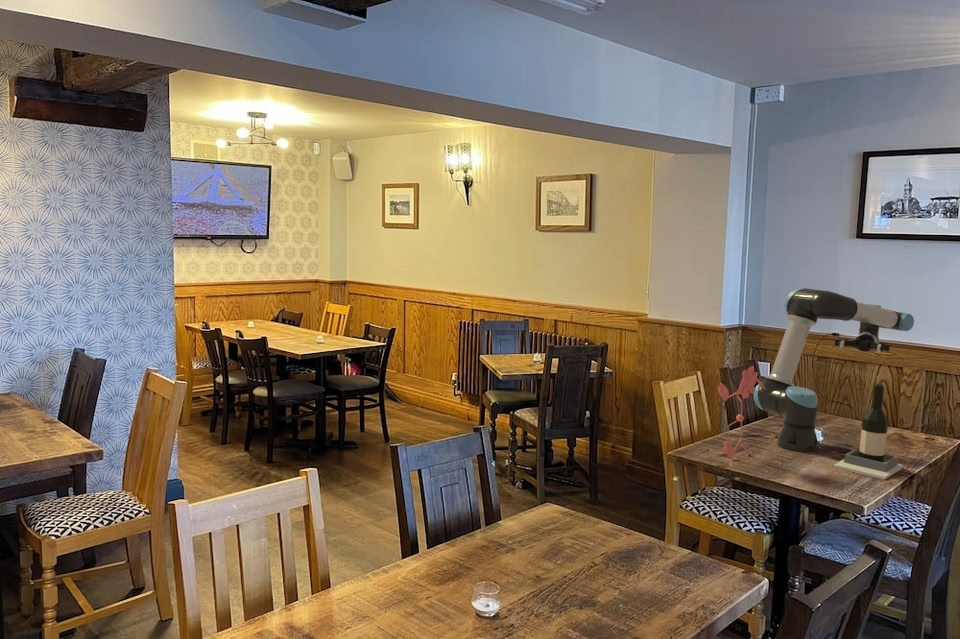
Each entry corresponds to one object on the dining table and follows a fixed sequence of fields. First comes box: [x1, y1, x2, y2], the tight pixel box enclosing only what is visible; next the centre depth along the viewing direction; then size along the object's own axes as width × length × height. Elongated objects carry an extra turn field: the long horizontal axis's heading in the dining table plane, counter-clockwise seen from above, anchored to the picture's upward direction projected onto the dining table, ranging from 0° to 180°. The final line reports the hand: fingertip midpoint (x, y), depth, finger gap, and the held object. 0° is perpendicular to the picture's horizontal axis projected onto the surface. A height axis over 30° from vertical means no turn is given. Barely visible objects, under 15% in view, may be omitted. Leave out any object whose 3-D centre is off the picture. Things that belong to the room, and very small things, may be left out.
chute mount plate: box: [833, 447, 904, 481], centre depth 261 cm, size 21×17×4 cm
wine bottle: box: [859, 382, 889, 463], centre depth 261 cm, size 8×8×30 cm
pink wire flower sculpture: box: [709, 365, 766, 460], centre depth 265 cm, size 15×26×35 cm, turn 130°
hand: (859, 347), depth 289 cm, fingers open, 13 cm apart
